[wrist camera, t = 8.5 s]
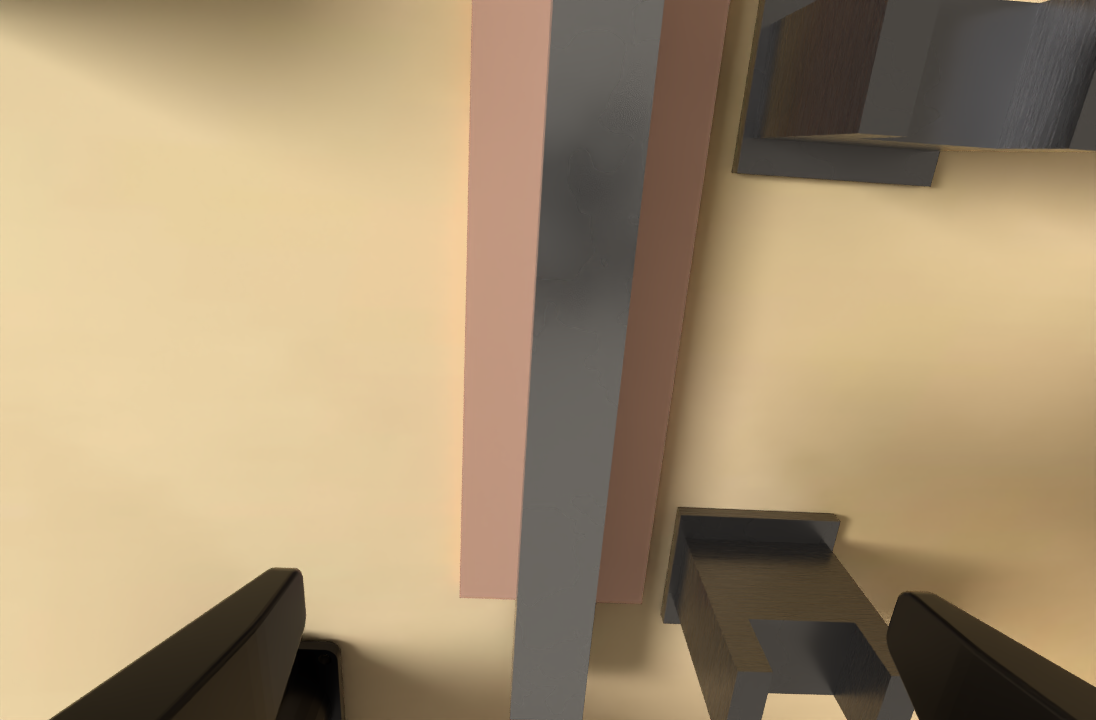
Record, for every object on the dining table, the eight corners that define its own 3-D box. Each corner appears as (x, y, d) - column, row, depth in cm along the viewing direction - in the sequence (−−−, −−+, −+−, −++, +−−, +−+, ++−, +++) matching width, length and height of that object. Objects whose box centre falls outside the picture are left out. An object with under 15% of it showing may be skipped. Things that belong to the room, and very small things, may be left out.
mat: (638, 592, 24) (641, 603, 23) (461, 586, 23) (459, 597, 23) (745, -149, 16) (753, -161, 15) (478, -174, 15) (476, -187, 15)
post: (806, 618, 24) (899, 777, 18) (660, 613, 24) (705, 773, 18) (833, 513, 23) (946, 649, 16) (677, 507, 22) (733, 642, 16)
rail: (576, 662, 24) (582, 721, 21) (512, 660, 24) (510, 719, 21) (659, -120, 15) (683, -171, 13) (558, -129, 15) (563, -183, 13)
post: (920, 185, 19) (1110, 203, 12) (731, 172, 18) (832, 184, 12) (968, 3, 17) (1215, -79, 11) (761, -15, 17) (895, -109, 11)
